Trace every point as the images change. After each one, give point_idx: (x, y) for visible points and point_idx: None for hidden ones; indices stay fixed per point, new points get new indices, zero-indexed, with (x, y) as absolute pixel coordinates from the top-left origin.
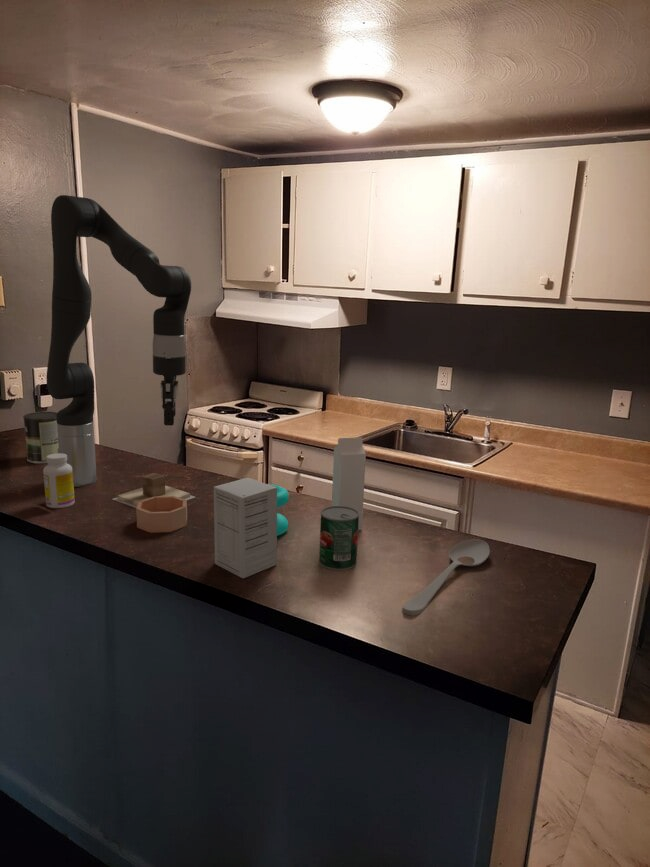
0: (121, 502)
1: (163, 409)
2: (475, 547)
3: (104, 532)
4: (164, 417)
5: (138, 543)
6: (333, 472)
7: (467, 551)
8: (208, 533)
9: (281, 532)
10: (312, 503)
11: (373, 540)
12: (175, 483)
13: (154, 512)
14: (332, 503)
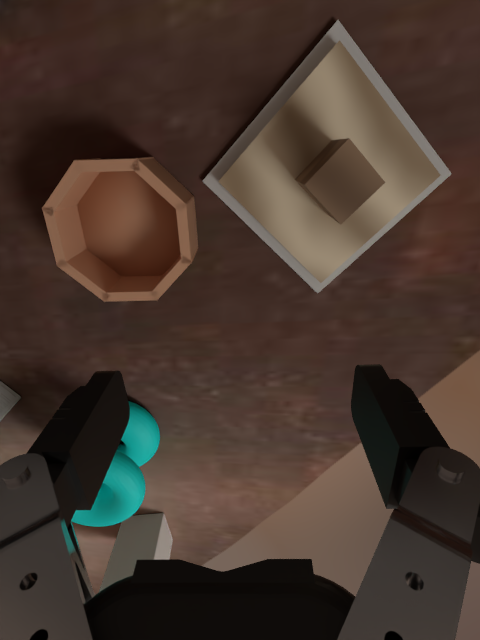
0: (298, 67)
1: (15, 458)
2: None
3: (64, 59)
4: (74, 406)
5: (11, 177)
6: None
7: None
8: (93, 329)
9: None
10: (258, 498)
11: (96, 547)
12: (460, 226)
13: (50, 222)
14: (150, 550)
